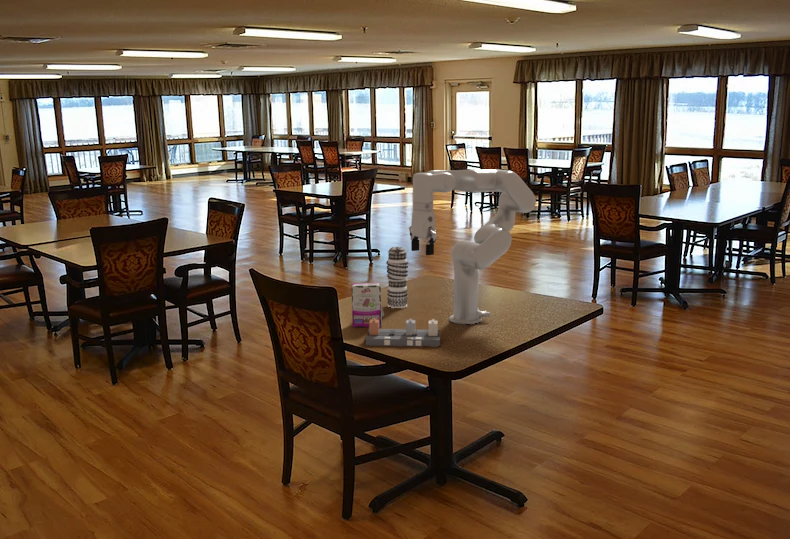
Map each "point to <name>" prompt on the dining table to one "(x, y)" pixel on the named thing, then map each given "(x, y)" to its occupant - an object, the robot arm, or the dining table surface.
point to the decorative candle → (397, 277)
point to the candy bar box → (366, 303)
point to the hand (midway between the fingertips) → (422, 252)
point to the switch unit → (402, 338)
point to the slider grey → (410, 327)
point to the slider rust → (374, 327)
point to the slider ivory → (433, 328)
